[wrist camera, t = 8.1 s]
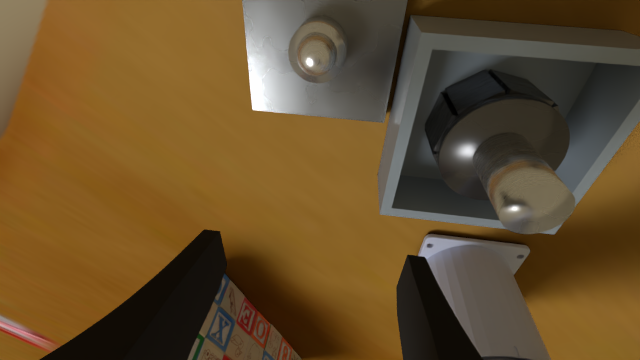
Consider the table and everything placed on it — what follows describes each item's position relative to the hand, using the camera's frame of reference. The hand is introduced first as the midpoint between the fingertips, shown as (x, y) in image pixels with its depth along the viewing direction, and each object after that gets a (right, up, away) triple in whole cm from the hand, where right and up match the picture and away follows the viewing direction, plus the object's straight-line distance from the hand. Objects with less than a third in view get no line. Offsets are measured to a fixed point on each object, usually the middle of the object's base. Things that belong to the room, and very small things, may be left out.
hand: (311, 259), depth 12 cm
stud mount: (+1, +11, +5) cm, 12 cm away
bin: (+10, +7, +6) cm, 14 cm away
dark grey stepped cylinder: (+10, +7, +6) cm, 13 cm away
